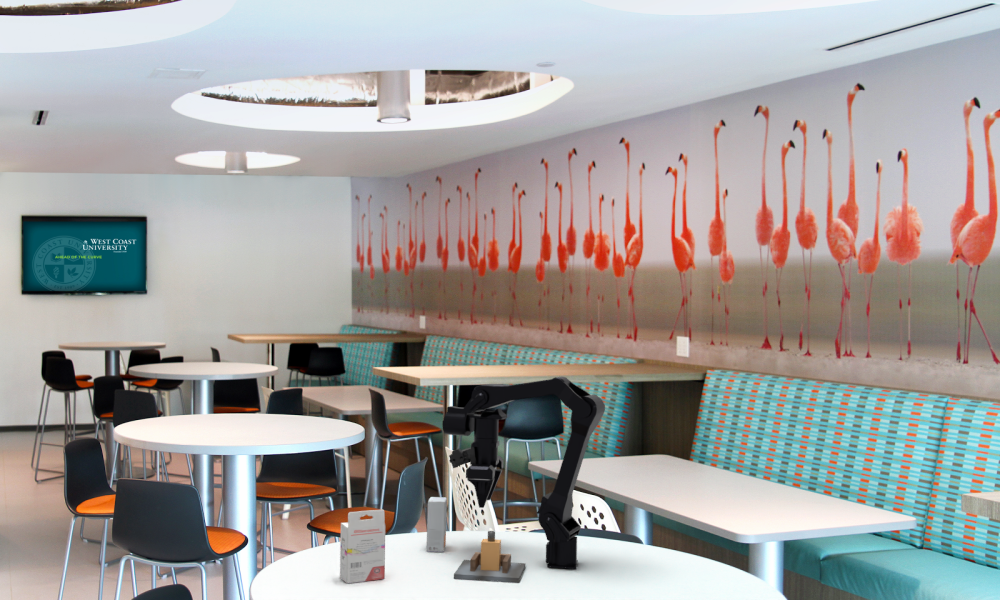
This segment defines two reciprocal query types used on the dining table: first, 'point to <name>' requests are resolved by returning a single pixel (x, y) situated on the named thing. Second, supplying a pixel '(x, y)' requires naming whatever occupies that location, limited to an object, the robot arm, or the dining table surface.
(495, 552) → the connector plug
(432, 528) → the skincare box
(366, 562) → the ink cartridge box
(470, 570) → the end holder
